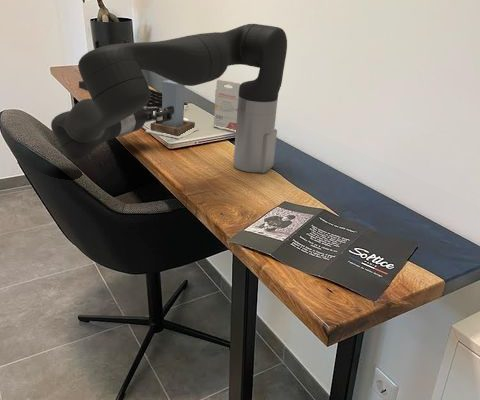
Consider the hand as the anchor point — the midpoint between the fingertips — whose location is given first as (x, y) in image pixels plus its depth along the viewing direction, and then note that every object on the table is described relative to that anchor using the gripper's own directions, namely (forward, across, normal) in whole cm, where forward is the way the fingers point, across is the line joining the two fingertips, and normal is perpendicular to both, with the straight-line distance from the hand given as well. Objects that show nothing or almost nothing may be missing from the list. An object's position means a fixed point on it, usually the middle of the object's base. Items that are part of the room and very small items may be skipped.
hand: (159, 107), depth 133 cm
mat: (+8, 0, -9) cm, 11 cm away
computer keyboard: (+32, -34, -9) cm, 47 cm away
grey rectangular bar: (+7, 0, -8) cm, 11 cm away
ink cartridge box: (+21, +11, -9) cm, 25 cm away
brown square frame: (+8, 0, -8) cm, 11 cm away
